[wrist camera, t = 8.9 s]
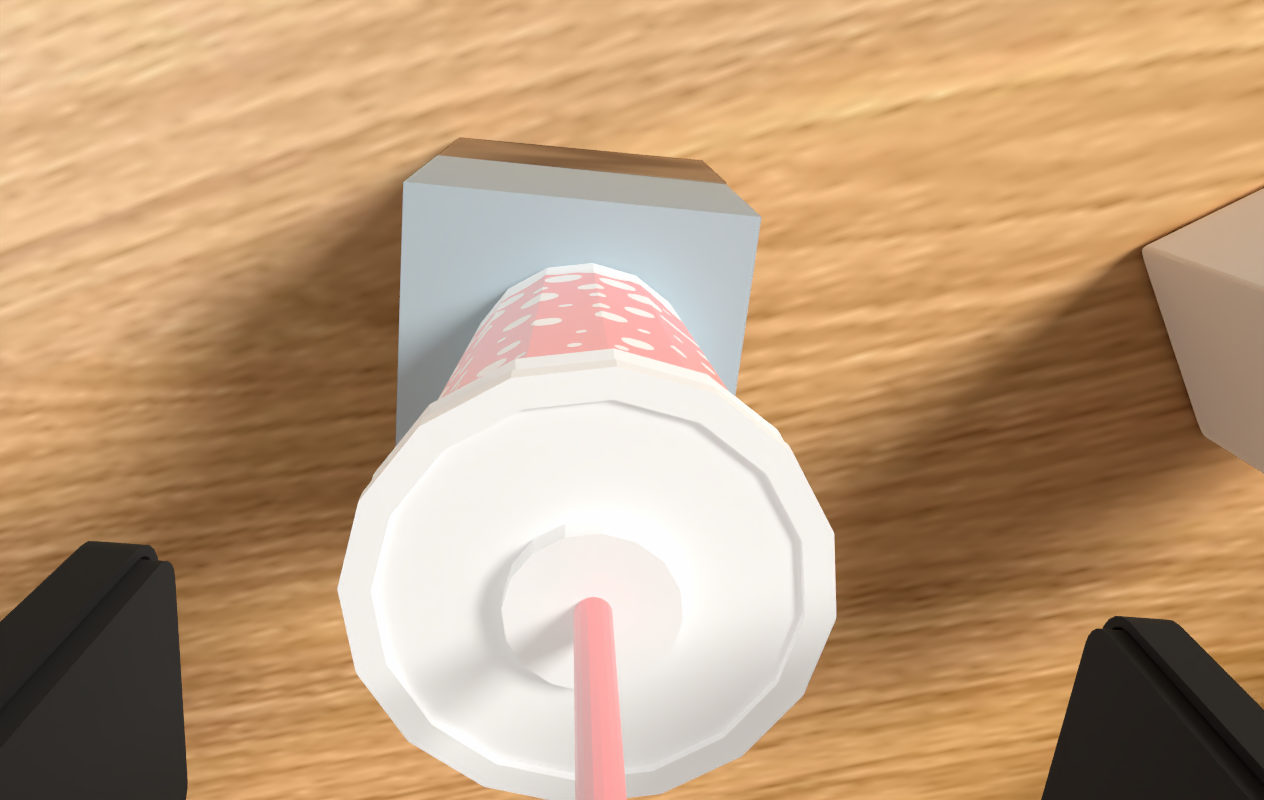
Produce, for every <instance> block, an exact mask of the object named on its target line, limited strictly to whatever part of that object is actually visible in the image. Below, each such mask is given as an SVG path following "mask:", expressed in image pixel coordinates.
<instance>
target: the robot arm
mask: <svg viewBox="0 0 1264 800" xmlns="http://www.w3.org/2000/svg"><path fill="white" fill-rule="evenodd" d="M186 795H187V764H186V748H185V732H184V715H183V699H182V683H181V666H180V650H179V634H178V617H177V601H176V585H175V574H174V569H173V566H172V564H171V563H170V562H168V561H158V558H157V555H156V553H155V550H154V549H153V548H152V547H151V546H150V545H139V544H125V543H112V542H98V541H88V542H86V543H85V544H83V545H82V546H80V547H79V548H78V549H77V550H76V551H75V552H74V553H73V554H72V555H71V556H70V557H69V558H68V559H67V560H66V561H65V562H63V563H62V564H61V565H60V566H59V567H58V568H57V569H56V570H55V571H54V572H53V573H52V574H51V575H50V576H49V577H48V578H46V579H45V580H44V581H43V582H42V583H41V584H40V585H39V586H38V587H37V588H36V589H35V590H34V591H33V592H32V593H31V594H29V595H28V596H27V597H26V598H25V599H24V600H23V601H22V602H21V603H20V604H19V605H18V606H17V607H16V608H15V609H14V610H12V611H11V612H10V613H9V614H8V615H7V616H6V617H5V618H4V619H3V620H2V621H1V622H0V800H186ZM1041 800H1264V710H1263V709H1262V708H1261V707H1260V706H1259V705H1258V704H1257V703H1256V702H1255V701H1254V700H1253V699H1252V698H1251V697H1250V696H1249V695H1248V694H1247V693H1246V692H1245V691H1244V690H1243V689H1242V688H1241V687H1240V686H1239V685H1238V684H1237V683H1236V681H1235V680H1234V679H1233V678H1232V677H1231V676H1230V675H1229V674H1228V673H1227V672H1226V671H1225V670H1224V669H1223V668H1222V667H1221V666H1220V665H1219V664H1218V663H1217V662H1216V661H1215V660H1214V659H1213V658H1212V657H1211V656H1210V655H1209V654H1208V653H1207V652H1206V651H1205V650H1204V649H1203V648H1202V647H1201V646H1200V645H1199V644H1198V643H1197V642H1196V641H1195V640H1194V639H1193V638H1192V637H1191V636H1190V635H1189V634H1188V633H1187V632H1186V631H1185V630H1184V629H1183V628H1182V627H1181V626H1180V625H1178V624H1177V623H1175V622H1174V621H1171V620H1164V619H1150V618H1136V617H1123V616H1115V617H1113V618H1110V619H1109V620H1108V621H1107V622H1106V624H1105V625H1104V627H1103V629H1095V630H1093V631H1092V632H1091V633H1090V635H1089V636H1088V638H1087V641H1086V643H1085V647H1084V650H1083V654H1082V657H1081V661H1080V665H1079V668H1078V672H1077V675H1076V679H1075V682H1074V686H1073V689H1072V693H1071V696H1070V700H1069V704H1068V707H1067V711H1066V714H1065V718H1064V721H1063V725H1062V728H1061V732H1060V735H1059V739H1058V743H1057V746H1056V750H1055V753H1054V757H1053V760H1052V764H1051V767H1050V771H1049V774H1048V778H1047V781H1046V785H1045V789H1044V792H1043V796H1042V799H1041Z"/></svg>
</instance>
